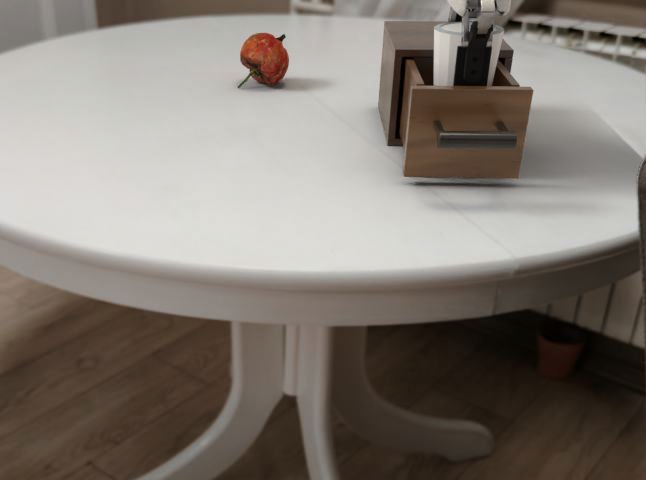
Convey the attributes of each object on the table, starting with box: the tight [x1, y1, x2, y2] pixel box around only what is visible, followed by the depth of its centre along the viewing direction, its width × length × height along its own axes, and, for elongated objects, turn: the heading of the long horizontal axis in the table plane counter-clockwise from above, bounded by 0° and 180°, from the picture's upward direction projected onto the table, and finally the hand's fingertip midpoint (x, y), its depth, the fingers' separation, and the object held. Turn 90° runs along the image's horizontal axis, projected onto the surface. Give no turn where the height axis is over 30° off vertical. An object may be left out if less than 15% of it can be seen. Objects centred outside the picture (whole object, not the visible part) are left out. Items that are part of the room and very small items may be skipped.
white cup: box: [434, 22, 505, 86], centre depth 82 cm, size 7×7×7 cm
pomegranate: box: [237, 32, 290, 89], centre depth 113 cm, size 7×7×10 cm
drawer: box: [398, 57, 534, 180], centre depth 82 cm, size 20×11×9 cm, turn 177°
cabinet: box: [377, 20, 515, 147], centre depth 96 cm, size 16×13×11 cm
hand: (463, 77), depth 82 cm, fingers closed on white cup, 6 cm apart
